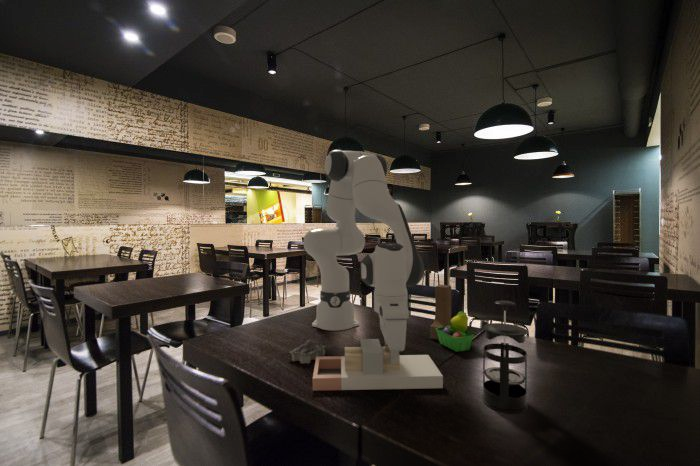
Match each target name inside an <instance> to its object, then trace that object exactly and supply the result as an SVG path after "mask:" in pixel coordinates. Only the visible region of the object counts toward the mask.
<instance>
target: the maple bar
mask: <svg viewBox="0 0 700 466" xmlns="http://www.w3.org/2000/svg"><path fill="white" fill-rule="evenodd" d="M381 348H382V350H383V370H400V355H401V354H400V353H399V355H398V364H391V362H390V350H389V348H388V347H385V346H381ZM344 356H345V371H363V352H362V347H361V346H345V347H344Z"/></svg>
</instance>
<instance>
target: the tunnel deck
mask: <svg viewBox="0 0 700 466" xmlns="http://www.w3.org/2000/svg"><path fill="white" fill-rule="evenodd" d="M360 347H362V352H363V371H345V355H342V356H341V355H340V356H339V355H338V356H337V355H334V356H329V355H328V356H325V355H324V356H318V357H316V360H315V363H314V368H313V373H312V392H314V391H317V392H318V391H358V390H359V391H361V390H370V391H371V390H410V389H419V390H420V389H444V376H443V374H442V373H441V371H440V369H439V368H438V366H437V365H436V364H435V362H434V361H433V359H432V358H431V357H430V355H429V354H402V355H401V354H400V370H383V350H382V348H381V347H382V345H381V341H380V340H379V338H360Z"/></svg>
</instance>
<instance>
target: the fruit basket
mask: <svg viewBox="0 0 700 466" xmlns="http://www.w3.org/2000/svg"><path fill="white" fill-rule="evenodd" d="M468 320H469V317H468V315H467V313H466V312H463V311H459V312H458V313H457V314H456V315H454V316H453V317H451V326H446V327H439V328H436V331H437V334H438V338H439V340H438V341H439V344H440V345H442V346H444V347H446V348H448V349H450V350H451V351H454V352H456V353H457V352H458V353H459V352H464V351H470V348H471V345H472V342H473V339H474V337H475V335H474V334H473V333H471V332H469V331H467V329H468V322H469V321H468Z"/></svg>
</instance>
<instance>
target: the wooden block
mask: <svg viewBox="0 0 700 466" xmlns="http://www.w3.org/2000/svg"><path fill="white" fill-rule="evenodd" d="M434 289H435V291H434V292H435V293H434V294H435V295H434V296H435V300H434V301H435V302H434V303H435V305H434V306H435V310H434V311H435V313H434V320H433V323H432V324H431V325H429V326H430V327H429V339H432V340H436V341H439V338H438V334H437V331H436V328H439V327H446V326H452V323H451V319H452V285H448V284H447V285H446V284H438V285H436V286H435V288H434Z"/></svg>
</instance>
